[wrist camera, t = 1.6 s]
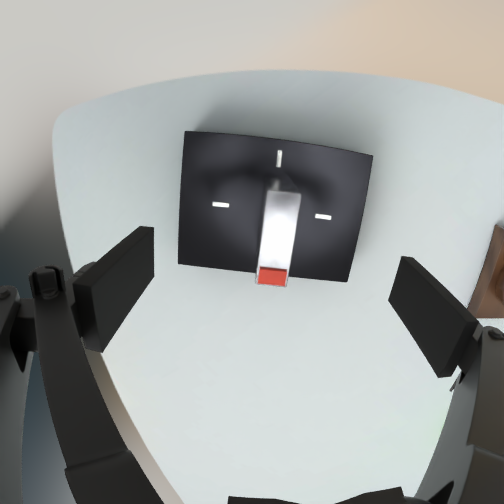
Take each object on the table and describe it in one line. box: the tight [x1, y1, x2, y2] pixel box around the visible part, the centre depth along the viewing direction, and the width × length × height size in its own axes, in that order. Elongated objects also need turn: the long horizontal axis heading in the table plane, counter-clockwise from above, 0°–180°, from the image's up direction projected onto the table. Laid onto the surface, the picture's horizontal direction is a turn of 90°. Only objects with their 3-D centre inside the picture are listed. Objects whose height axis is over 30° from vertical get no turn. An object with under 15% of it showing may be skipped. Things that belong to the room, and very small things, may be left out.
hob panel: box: [178, 131, 373, 282], centre depth 27 cm, size 12×16×3 cm
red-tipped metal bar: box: [255, 174, 301, 287], centre depth 22 cm, size 6×2×8 cm, turn 174°
